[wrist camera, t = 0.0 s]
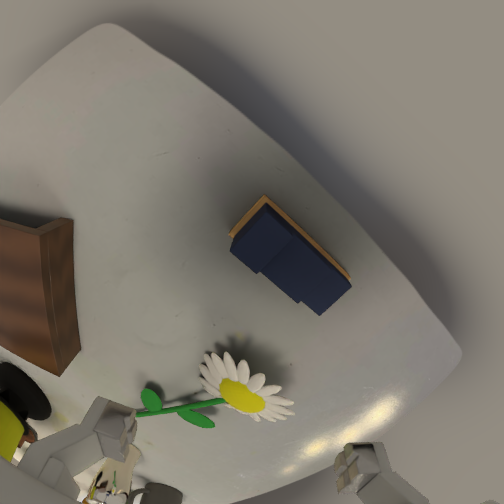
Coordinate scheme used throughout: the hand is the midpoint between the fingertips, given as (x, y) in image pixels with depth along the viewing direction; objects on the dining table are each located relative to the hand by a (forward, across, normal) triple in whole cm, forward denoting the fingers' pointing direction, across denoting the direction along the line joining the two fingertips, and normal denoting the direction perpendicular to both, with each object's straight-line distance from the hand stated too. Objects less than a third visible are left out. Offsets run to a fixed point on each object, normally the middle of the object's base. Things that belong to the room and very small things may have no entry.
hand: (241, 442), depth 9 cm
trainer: (+22, -3, -1) cm, 22 cm away
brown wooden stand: (+22, +33, +10) cm, 41 cm away
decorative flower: (+22, +5, +22) cm, 32 cm away
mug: (+22, +10, +60) cm, 65 cm away
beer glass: (+22, +16, +44) cm, 52 cm away
